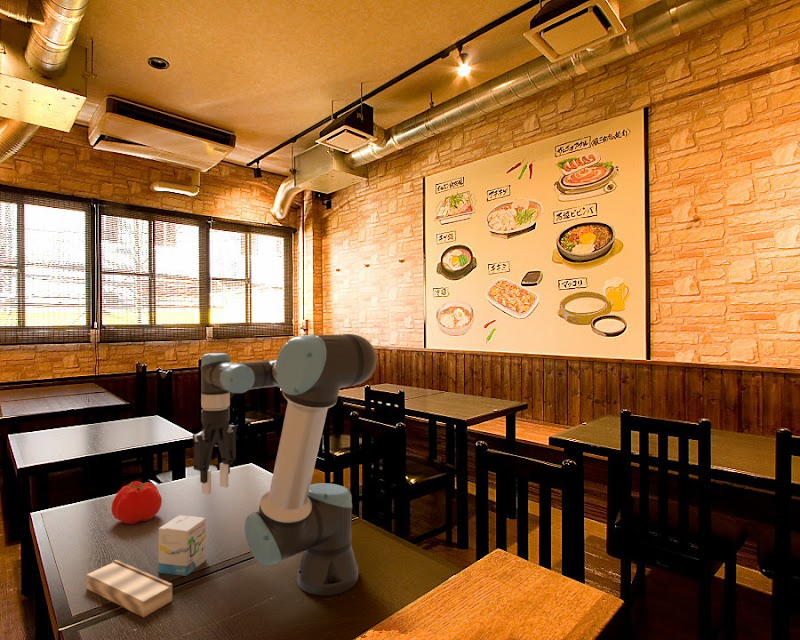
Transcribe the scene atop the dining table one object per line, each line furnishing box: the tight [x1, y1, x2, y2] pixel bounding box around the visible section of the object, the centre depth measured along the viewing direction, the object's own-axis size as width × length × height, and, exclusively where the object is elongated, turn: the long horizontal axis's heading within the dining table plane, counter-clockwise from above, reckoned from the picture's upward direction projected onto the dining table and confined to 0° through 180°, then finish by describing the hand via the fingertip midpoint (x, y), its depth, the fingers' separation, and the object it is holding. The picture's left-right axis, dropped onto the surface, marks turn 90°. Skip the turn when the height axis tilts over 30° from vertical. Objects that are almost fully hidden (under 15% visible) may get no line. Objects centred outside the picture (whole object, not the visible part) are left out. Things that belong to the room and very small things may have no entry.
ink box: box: [157, 515, 207, 577], centre depth 124 cm, size 9×8×12 cm
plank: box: [86, 559, 173, 618], centre depth 112 cm, size 22×7×4 cm, turn 62°
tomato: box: [110, 480, 163, 525], centre depth 152 cm, size 13×14×12 cm
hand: (215, 489), depth 134 cm, fingers open, 5 cm apart
